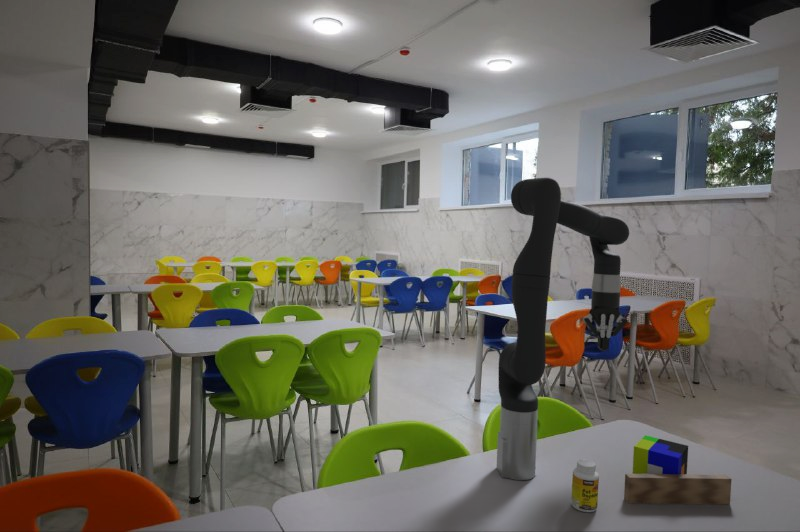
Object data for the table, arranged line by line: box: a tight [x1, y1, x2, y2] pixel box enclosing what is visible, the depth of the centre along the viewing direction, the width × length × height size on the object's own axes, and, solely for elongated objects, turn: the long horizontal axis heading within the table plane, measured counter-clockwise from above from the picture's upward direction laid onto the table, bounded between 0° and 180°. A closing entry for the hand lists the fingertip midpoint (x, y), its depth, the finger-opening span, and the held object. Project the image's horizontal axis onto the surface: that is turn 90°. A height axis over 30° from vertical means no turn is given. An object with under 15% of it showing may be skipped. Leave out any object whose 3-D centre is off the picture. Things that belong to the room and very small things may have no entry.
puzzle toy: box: [632, 434, 689, 474], centre depth 129 cm, size 10×10×10 cm
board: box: [623, 473, 732, 505], centre depth 121 cm, size 24×2×6 cm, turn 92°
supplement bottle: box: [570, 458, 600, 513], centre depth 118 cm, size 6×6×10 cm
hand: (603, 350), depth 150 cm, fingers closed
